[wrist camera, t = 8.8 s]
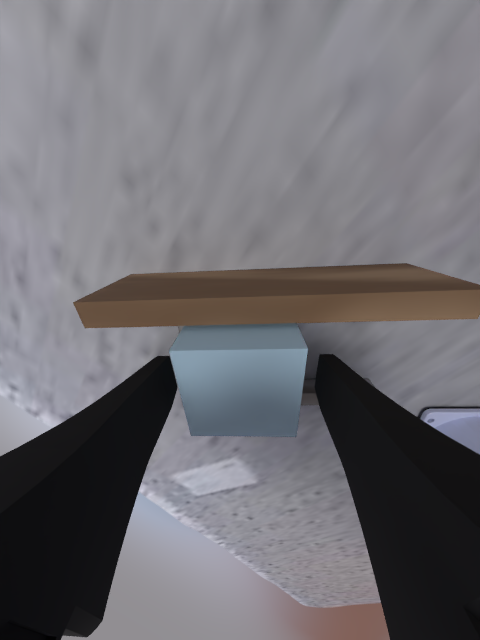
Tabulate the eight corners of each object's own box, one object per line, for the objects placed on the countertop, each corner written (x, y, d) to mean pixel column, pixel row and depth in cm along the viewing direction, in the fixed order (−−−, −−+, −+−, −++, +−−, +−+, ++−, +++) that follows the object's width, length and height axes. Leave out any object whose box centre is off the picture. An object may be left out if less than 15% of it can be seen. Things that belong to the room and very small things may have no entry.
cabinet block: (278, 365, 15) (295, 446, 10) (213, 365, 15) (193, 445, 10) (282, 291, 12) (307, 348, 7) (202, 294, 13) (169, 351, 7)
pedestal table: (364, 390, 16) (404, 449, 12) (166, 391, 17) (139, 446, 13) (406, 263, 11) (493, 288, 7) (131, 274, 12) (72, 302, 8)
